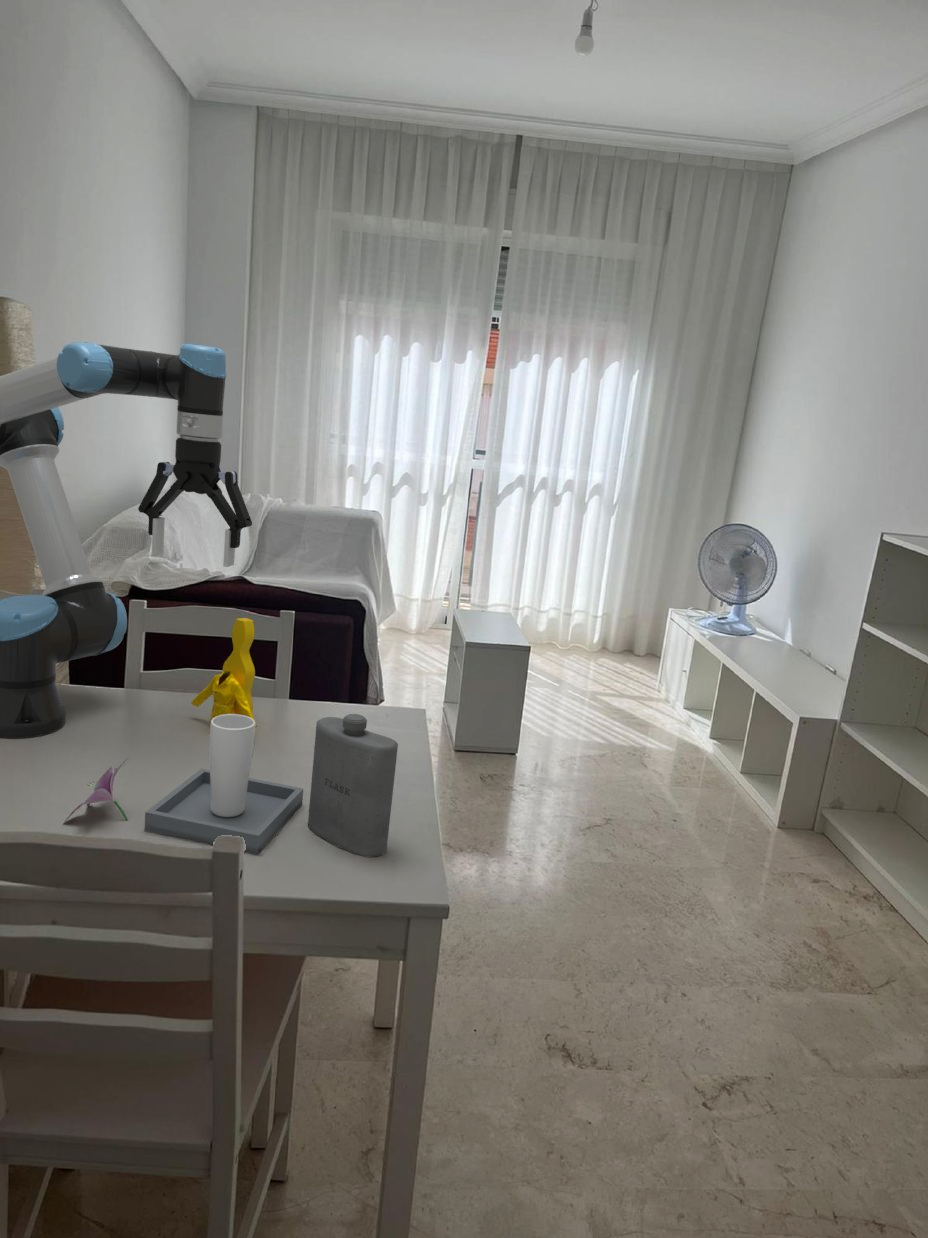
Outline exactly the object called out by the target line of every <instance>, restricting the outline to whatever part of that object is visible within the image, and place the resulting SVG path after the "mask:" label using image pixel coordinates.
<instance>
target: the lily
mask: <svg viewBox="0 0 928 1238" xmlns="http://www.w3.org/2000/svg"><path fill="white" fill-rule="evenodd" d="M128 760H129V757H128V758H126V759H124V761H122V763H121V764H120V765H119V766H117V767H115V768H114V769H113V767H112V765H111V766H110V767H109V768H108V769H106V771H105V772H104V773H103V774H102V775H101V777H100V778H99V779H98V781H96V783H95V782H94V781H93V780H92V782H89V784H88V786H89V787H93V788H94V789H93V790H94V791H93V792H92V793H91V794H90V795H89V796H88V797H87V799H86V800H84V802H82V803H80V804H79V805H77V807H75V808H74V809H73V810H72V811H71V812H70V814H68V817H66V819H65V820H64V822H63V824H65V823H66V822H67V820H69V818H70V817H71V816H72V815H73V814H74V813H76V811H78V810H79V809H80V808H81V807H82V806H83V805H86V807H89V806H90V805H91V804H95V803H101V802H107V801H111V802H113V803H114V805H115V806H116V807H117V808H118V809H119V811H120V812H121V814H122V816H123V817H124V819H125V821H126V822H128V821H129V819H128V817H127V816H126V813H125V812H124V811H123V808H122V807H121V806H120V804H119V803H118V802H117V801H116V800H115V798H114V794H113V790H114V781H115V777H116V775H117V773H118V772H119V770H120V768H122V766H123V765H124V764H125V763H126V762H127V761H128Z"/></svg>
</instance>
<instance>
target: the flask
mask: <svg viewBox="0 0 928 1238" xmlns="http://www.w3.org/2000/svg"><path fill="white" fill-rule="evenodd" d="M367 723H368V720H367V718H366V717H365V716H364V715H362V714H360V713H359V714H358V713H351V714H346V715H345V716H343V718H341V717H336V716H328V717H327V716H326V717H322V718H320V719H318V720H317V721H316V724H315V725H316V727H315V737H314V739H315V740H314V750H313V760H312V772H311V781H310V794H309V796H310V797H309V806H308V819H307V824H308V825H307V826H308V827H309V829H310V830H311V831H312V832H313V833H315V834H316V835H318V836H319V837H321V839H323V840H325V841H327V842H329V844H332V845H334V846H336V847H338V848H341V849H343V850H345V851H348V852H350V853H352V854H356V855H359V856H362V857H368V858H370V857H371V858H372V857H380V856H382V855H384V854H385V853H386V852H387V849H388V841H389V831H390V822H391V812H392V803H393V794H394V784H395V775H396V766H397V758H398V749H399V747H398V746H399V743H398V742H397V741H396V740H395V739H393V738H390V737H388V736H385V735H380V734H379V733H378V734H377V733H374V732H373V731H369V730H366V729H367V726H368V725H367Z"/></svg>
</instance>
